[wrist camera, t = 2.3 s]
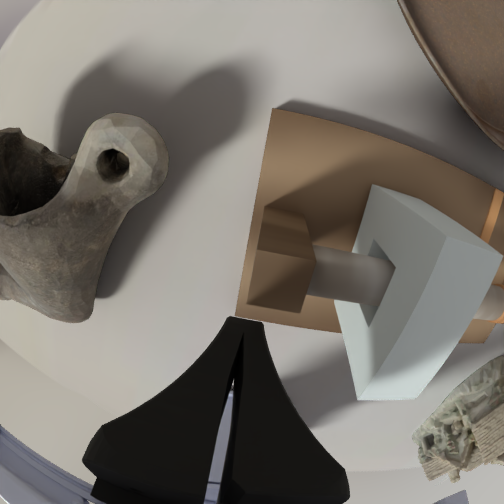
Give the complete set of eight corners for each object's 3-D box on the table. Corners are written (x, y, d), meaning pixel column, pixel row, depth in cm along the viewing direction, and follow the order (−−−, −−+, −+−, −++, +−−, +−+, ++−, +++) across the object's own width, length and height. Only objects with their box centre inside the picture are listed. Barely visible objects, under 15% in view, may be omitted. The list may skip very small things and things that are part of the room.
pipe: (156, 220, 24) (156, 63, 12) (179, 311, 21) (184, 159, 8) (7, 255, 18) (-66, 137, 6) (7, 346, 15) (-116, 258, 2)
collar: (377, 308, 15) (415, 399, 9) (333, 301, 15) (357, 400, 9) (419, 199, 12) (503, 255, 6) (371, 183, 12) (446, 235, 6)
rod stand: (478, 336, 18) (508, 383, 12) (237, 306, 18) (219, 382, 12) (534, 214, 12) (584, 246, 7) (272, 109, 13) (269, 92, 7)
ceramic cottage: (517, 340, 18) (563, 444, 4) (499, 398, 23) (522, 473, 10) (401, 403, 23) (418, 525, 10) (413, 441, 29) (423, 521, 16)
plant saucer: (523, -3, 4) (542, -8, 1) (549, 173, 11) (572, 183, 8) (348, -84, 5) (356, -105, 2) (385, 130, 13) (409, 131, 10)
